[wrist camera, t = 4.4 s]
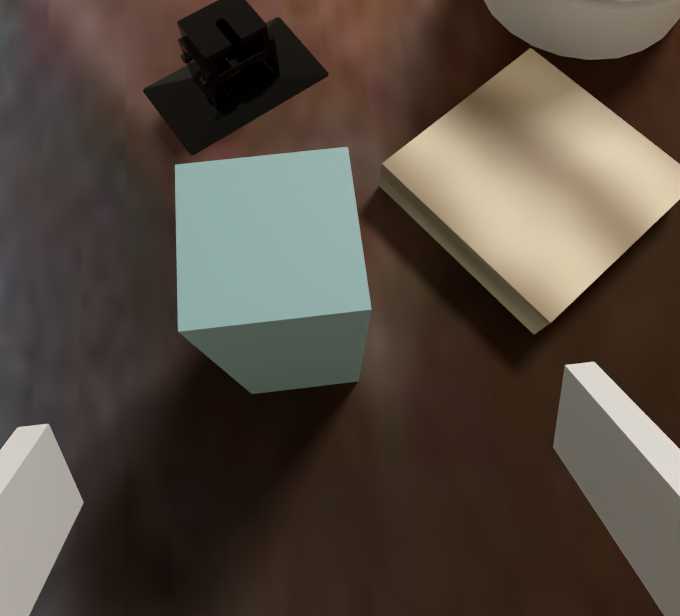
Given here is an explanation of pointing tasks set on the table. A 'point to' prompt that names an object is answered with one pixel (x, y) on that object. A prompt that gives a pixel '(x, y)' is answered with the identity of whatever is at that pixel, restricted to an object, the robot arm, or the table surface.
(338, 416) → the table surface
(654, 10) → the honey pot
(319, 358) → the pillar block
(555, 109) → the base slab
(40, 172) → the table surface
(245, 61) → the black boxy piece
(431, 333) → the table surface
